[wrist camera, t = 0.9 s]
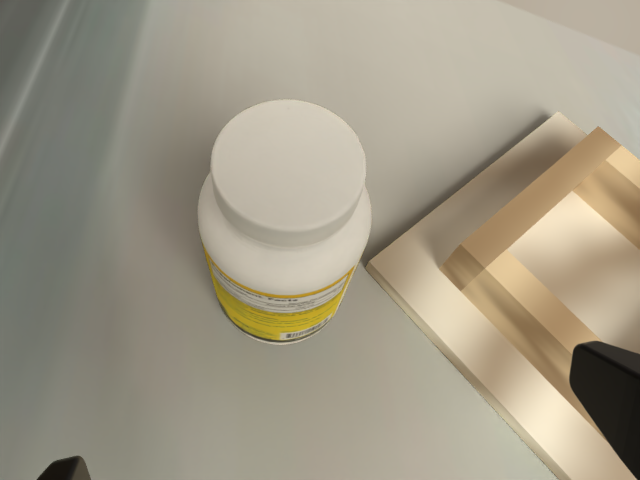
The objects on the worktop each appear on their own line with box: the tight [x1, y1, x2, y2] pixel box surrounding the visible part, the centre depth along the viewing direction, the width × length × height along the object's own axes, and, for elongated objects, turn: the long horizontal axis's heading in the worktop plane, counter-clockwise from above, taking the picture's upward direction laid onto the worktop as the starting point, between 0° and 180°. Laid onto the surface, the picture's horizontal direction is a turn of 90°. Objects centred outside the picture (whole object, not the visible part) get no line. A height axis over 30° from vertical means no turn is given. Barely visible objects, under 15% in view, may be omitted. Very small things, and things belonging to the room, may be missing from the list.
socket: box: [365, 111, 640, 480], centre depth 24 cm, size 16×16×4 cm
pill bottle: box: [197, 99, 372, 345], centre depth 20 cm, size 6×6×11 cm
